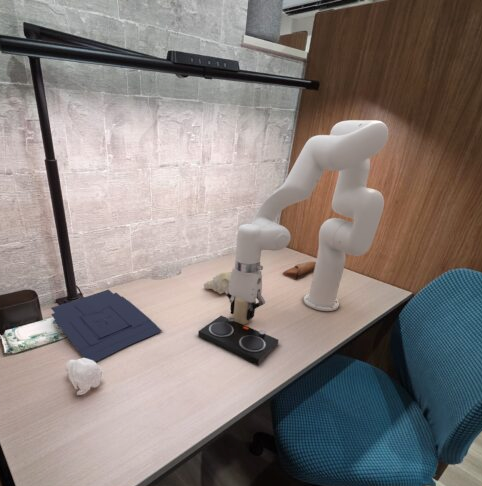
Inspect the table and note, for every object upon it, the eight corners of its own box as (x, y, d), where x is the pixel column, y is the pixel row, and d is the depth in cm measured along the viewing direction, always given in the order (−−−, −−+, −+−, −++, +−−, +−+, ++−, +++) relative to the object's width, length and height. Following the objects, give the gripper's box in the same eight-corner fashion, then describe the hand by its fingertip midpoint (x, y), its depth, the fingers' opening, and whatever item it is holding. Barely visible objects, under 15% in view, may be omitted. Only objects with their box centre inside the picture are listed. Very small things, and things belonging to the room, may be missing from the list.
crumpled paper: (75, 372, 69) (52, 352, 76) (83, 403, 72) (60, 380, 80) (101, 359, 73) (77, 341, 80) (107, 389, 76) (84, 368, 84)
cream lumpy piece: (204, 302, 121) (236, 285, 113) (197, 285, 121) (228, 266, 114) (222, 298, 134) (252, 282, 126) (215, 283, 135) (244, 266, 127)
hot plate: (220, 320, 106) (221, 312, 104) (277, 345, 95) (279, 336, 93) (198, 336, 97) (198, 327, 96) (258, 365, 86) (259, 356, 84)
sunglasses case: (302, 263, 152) (311, 254, 147) (312, 274, 150) (321, 265, 145) (281, 273, 141) (290, 263, 136) (291, 285, 139) (300, 275, 134)
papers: (113, 294, 117) (113, 285, 115) (162, 337, 100) (163, 328, 98) (45, 316, 102) (44, 307, 100) (90, 371, 85) (89, 362, 83)
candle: (240, 314, 110) (242, 288, 105) (252, 320, 106) (256, 294, 102) (229, 319, 106) (231, 293, 102) (242, 326, 103) (245, 299, 98)
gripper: (277, 269, 95) (269, 319, 104) (230, 255, 104) (226, 303, 113) (266, 276, 90) (258, 329, 98) (217, 261, 99) (214, 311, 107)
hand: (241, 315), depth 105 cm, fingers closed on candle, 5 cm apart
